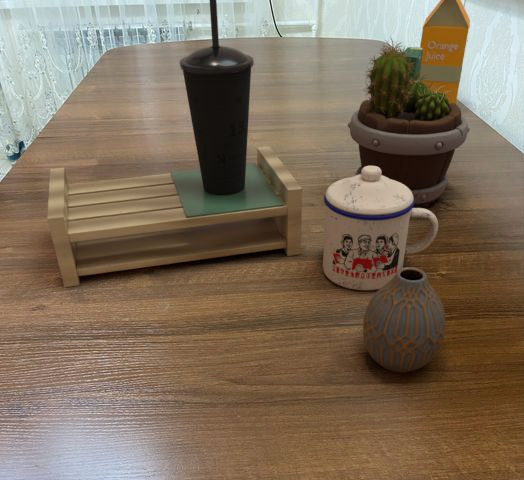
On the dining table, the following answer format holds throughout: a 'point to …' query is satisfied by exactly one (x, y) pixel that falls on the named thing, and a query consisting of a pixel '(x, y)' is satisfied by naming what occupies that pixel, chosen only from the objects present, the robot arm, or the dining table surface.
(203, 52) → the drinking cup
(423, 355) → the vase
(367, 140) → the flowerpot
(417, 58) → the coffee box
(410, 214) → the teacup with lid
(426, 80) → the orange juice
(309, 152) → the dining table surface
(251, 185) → the rack
